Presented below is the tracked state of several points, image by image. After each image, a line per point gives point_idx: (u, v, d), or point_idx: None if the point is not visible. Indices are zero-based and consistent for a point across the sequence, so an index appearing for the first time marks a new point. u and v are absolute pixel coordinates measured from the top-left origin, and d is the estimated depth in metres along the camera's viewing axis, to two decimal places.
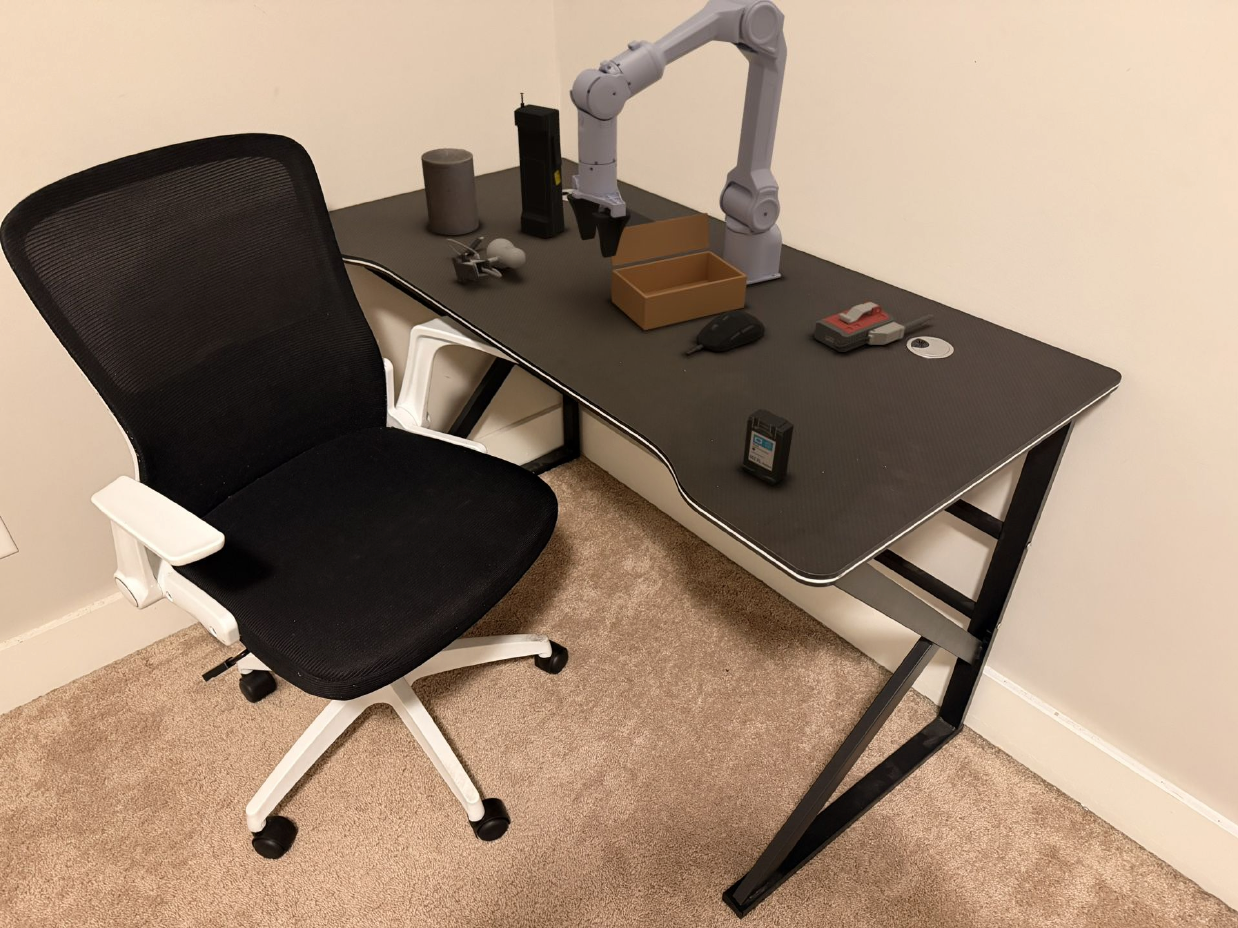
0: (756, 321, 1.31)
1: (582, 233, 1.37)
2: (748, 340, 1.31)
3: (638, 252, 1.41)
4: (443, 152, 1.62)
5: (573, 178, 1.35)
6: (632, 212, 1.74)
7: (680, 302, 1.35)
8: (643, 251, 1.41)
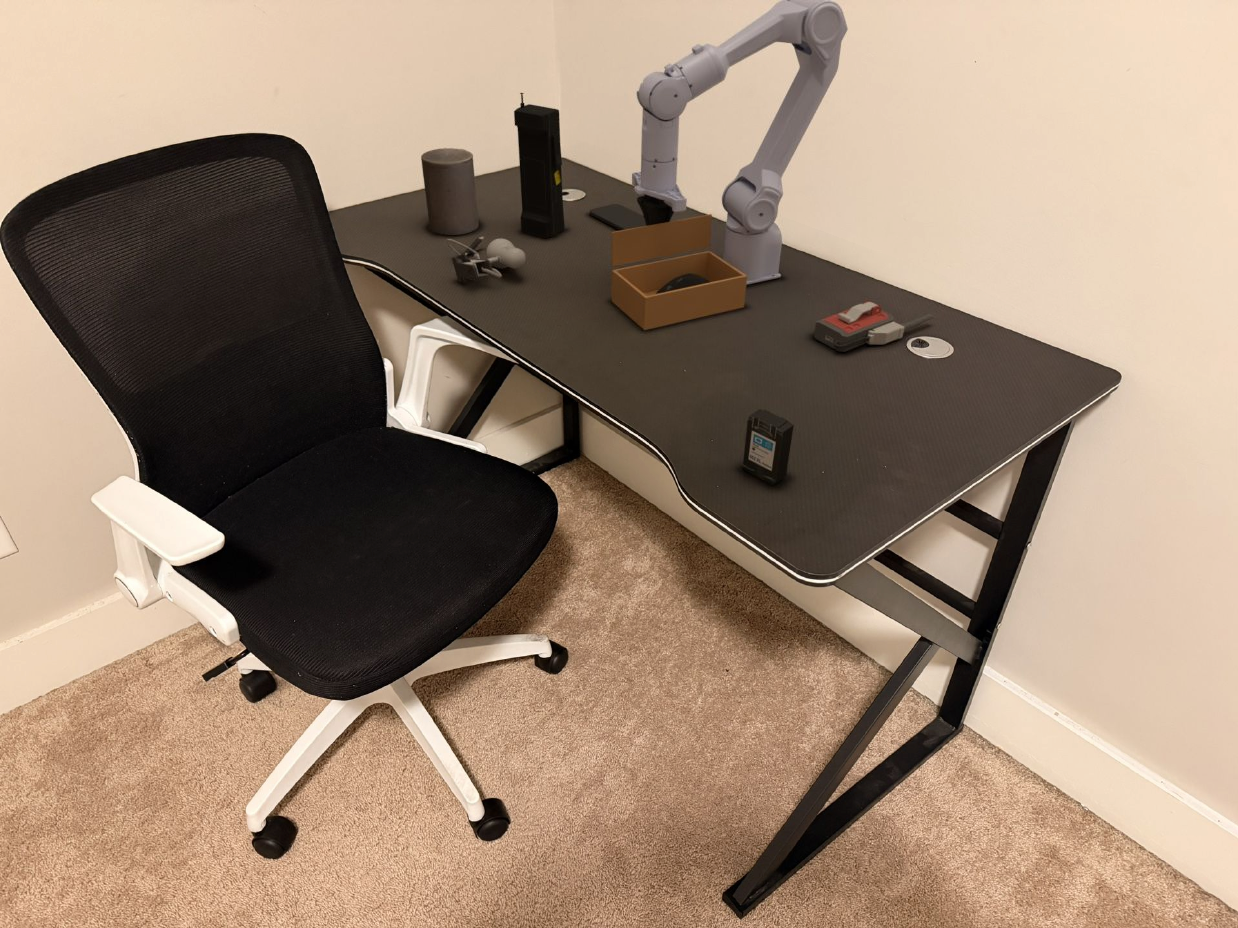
0: None
1: None
2: None
3: (639, 253, 1.40)
4: (443, 152, 1.62)
5: (633, 175, 1.42)
6: (632, 212, 1.74)
7: (680, 302, 1.35)
8: (644, 252, 1.41)
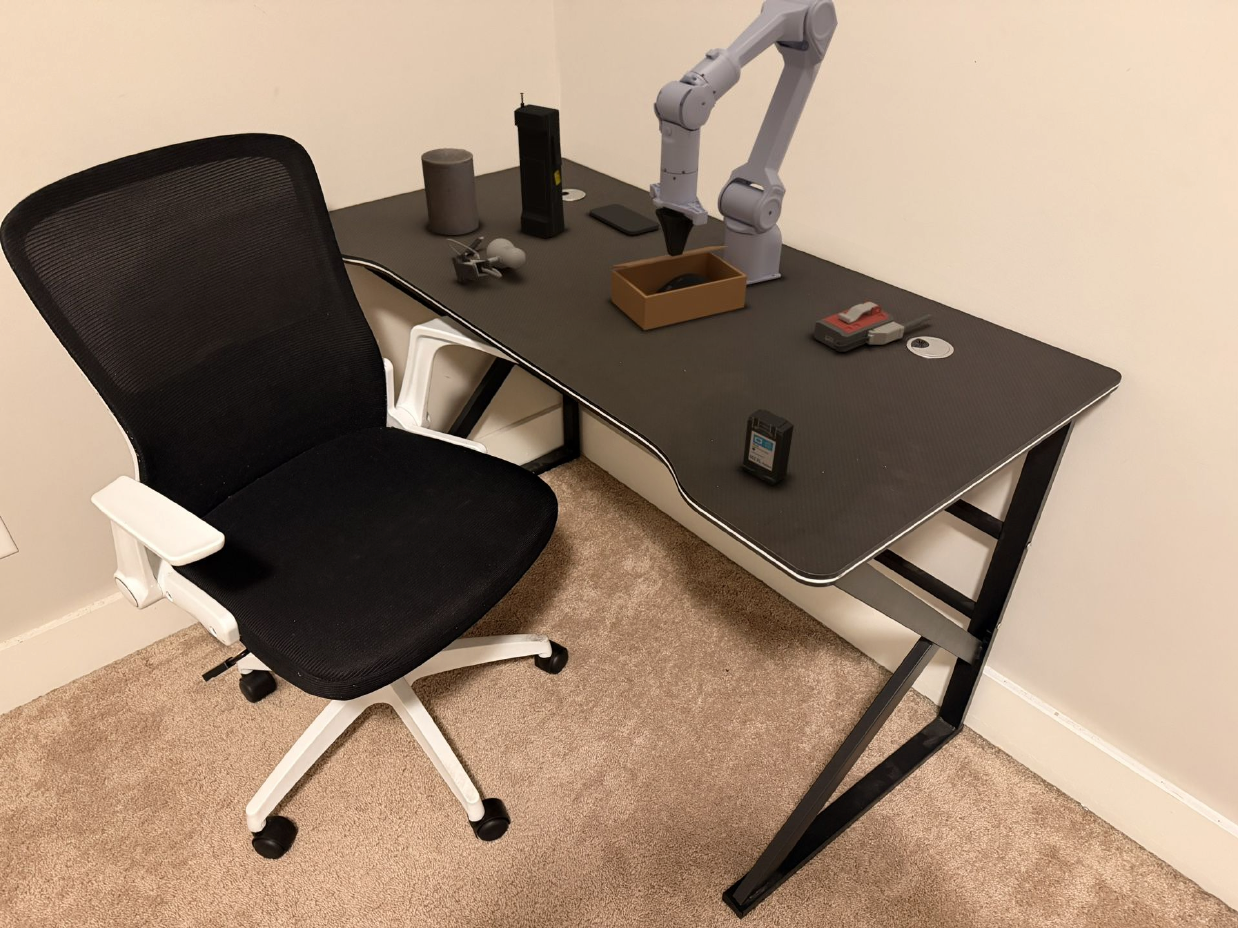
0: None
1: None
2: None
3: None
4: (443, 152, 1.62)
5: (651, 186, 1.38)
6: (632, 212, 1.74)
7: (680, 302, 1.35)
8: None
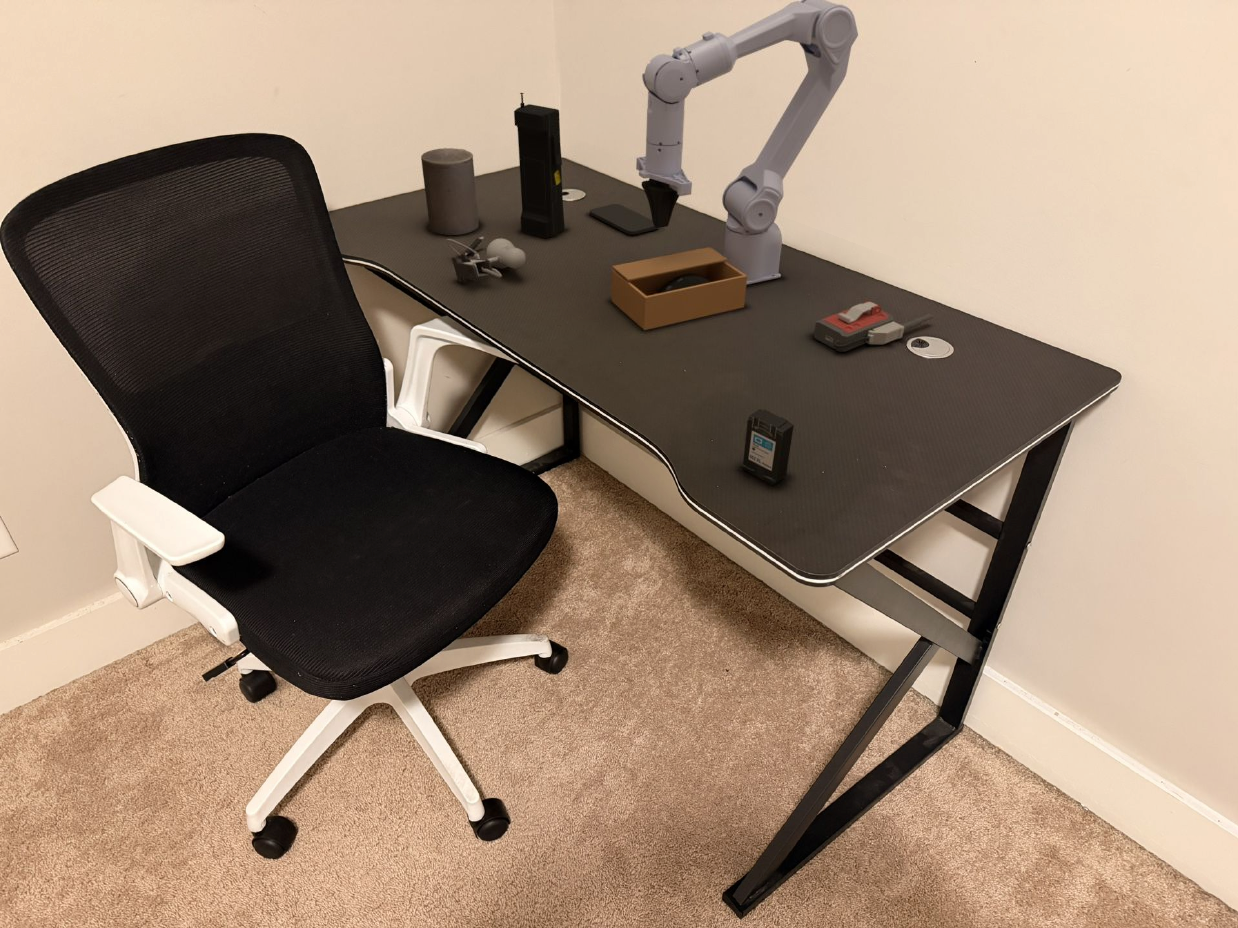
0: None
1: None
2: None
3: None
4: (443, 152, 1.62)
5: (637, 160, 1.41)
6: (632, 212, 1.74)
7: (680, 302, 1.35)
8: None
